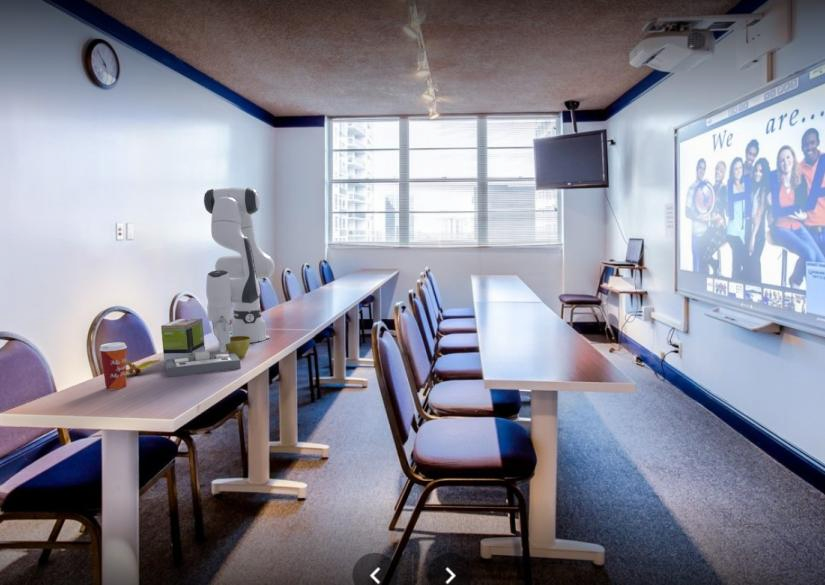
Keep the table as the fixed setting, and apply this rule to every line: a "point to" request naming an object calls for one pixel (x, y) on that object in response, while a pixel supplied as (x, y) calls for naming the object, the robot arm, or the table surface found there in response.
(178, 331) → the tea box
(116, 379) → the paper cup
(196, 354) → the button middle
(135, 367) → the origami crane
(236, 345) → the flower pot
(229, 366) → the button board
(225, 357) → the button
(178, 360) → the button
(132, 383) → the table surface
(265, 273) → the robot arm
